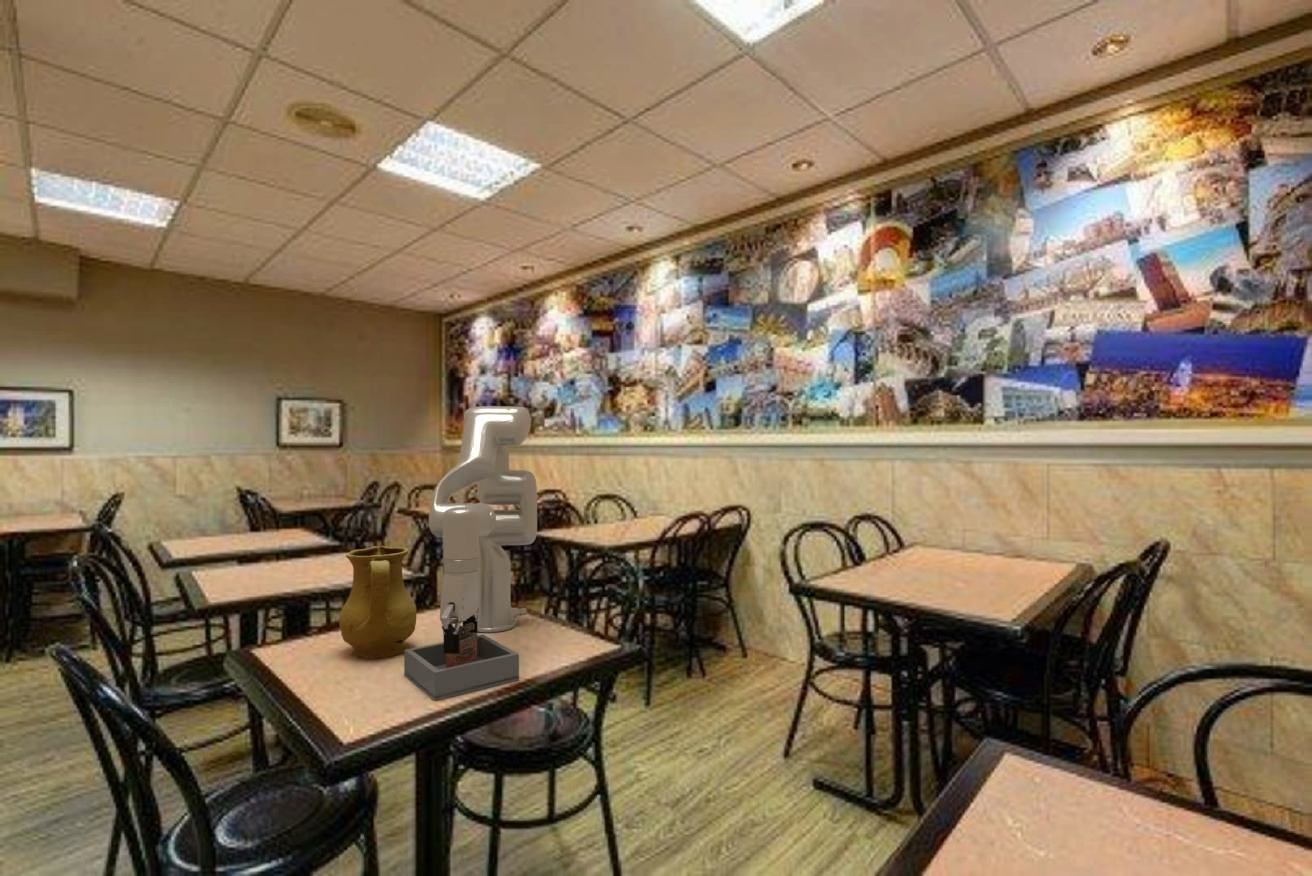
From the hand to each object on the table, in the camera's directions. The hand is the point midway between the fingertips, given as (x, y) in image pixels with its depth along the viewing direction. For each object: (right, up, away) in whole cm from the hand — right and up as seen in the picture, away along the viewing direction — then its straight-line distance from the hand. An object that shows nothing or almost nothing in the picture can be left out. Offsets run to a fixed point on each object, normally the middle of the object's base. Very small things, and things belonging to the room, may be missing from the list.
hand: (461, 645), depth 141 cm
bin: (0, -7, 0) cm, 7 cm away
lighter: (0, -6, 0) cm, 6 cm away
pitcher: (-25, -7, +17) cm, 31 cm away
